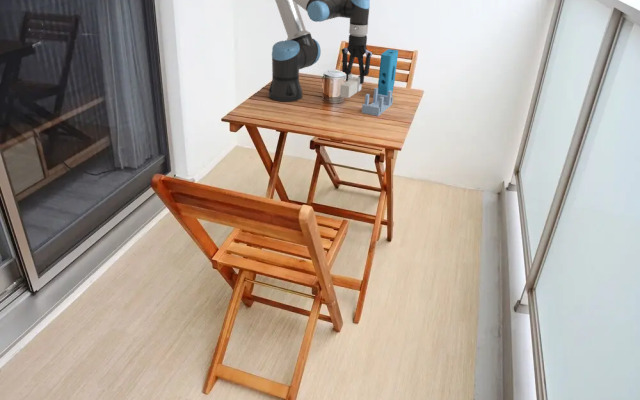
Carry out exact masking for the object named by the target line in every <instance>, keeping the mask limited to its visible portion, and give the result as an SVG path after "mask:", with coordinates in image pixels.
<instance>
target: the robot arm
mask: <svg viewBox="0 0 640 400" xmlns="http://www.w3.org/2000/svg"><path fill="white" fill-rule="evenodd" d="M370 1H371V0H275V3H276V6H277V9H278V12H279V14H280V18H281V21H282V24H283V26H284V29H285V33H286V35H287V38H286V40H280V41H277V42H275V43H274V44H273V46H272V52H271V60H272V61H271V62H272V63H271V64H272V66H271V68H272V69H271V71H272V72H271V73H272V74H271V75H272V79H271V83H270V86H269V89H268V98H269V99H271V100H274V101H277V102H285V103H286V102H288V103H289V102H296V101H299V100H301V99H302V98H303V90H302V86H301V83H300V82H301V81H300V79H299V78H300V77H299V75H300V70H302V69H305V68H309V67H312V66H313V65H314V64H316V63H317V62H318V61H319V59H320V57H321V54H322V53H321V52H322V51H321V46H320V43H319V41H317V40H316V39H315V38H313V36H312V34H311V32H310V31H308V30H306V27H305V24H304V21H303V18H302V15H301V12H300V8H299V7H301V8H302V9H304V10H305V11H306V12H307V16H308V17H309V19H310V20H311V21H312V22H316V23H317V22H325V21H328V20H331V19H335V18H346V19H349V29H348V30H349V31H348V33H349V35H348V45H347V46H346V47H344V48H342V49H341V53H342V62H341V63H342V66H341V68H342V69H341V71H342V72H343V73H345V82H346V81H348V80H350V79H351V78H353V73H352V69H353V65H354V60H355V58H356V59H357V61H358V62H357V63H358V71H359V75H358V77H357V78H358V86H357V91H358V92H360V91H362V86H361V84H362V85H363V84H364V82H365V77H366V76H368V75H369V72H370V64H371V58H372V55H373V52H372V51H369V50H368V48H367V44H368V43H367V42H368V41H367V40H368V36H367V35H368V28H369V15H370V7H371V6H370V5H371V4H370ZM348 53H349V59H348ZM364 55H365V64H364ZM358 92H357V93H358Z"/></svg>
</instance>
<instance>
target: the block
mask: <svg viewBox="0 0 640 400" xmlns="http://www.w3.org/2000/svg"><path fill="white" fill-rule="evenodd" d="M398 55H399V49H398V50H397V49H389V48H388V49H386V50H385V51H384V52H382V53H381V54H380V62H379V73H378V81H377V82H378V83H377V88H378V94H380V95H385V96H388V91H389V90H391V91H392V94H393V92H394V86H395V80H396V74H397V65H398V58H399V57H398Z"/></svg>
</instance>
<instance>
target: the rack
mask: <svg viewBox="0 0 640 400" xmlns="http://www.w3.org/2000/svg"><path fill="white" fill-rule="evenodd" d="M372 97H373V98H372V102H371V103H370V93H366V94H365V96H364V103H363V104H362V105H361V113H362V114H366V115H370V116H371V115H372V116H375V117H379V116H380V115H382V114H383V113H384V112H386V110H388V109H389V108H390V107H391V106H393V102H394V97H393V93H392V91H391V90H389V91H388V96H385V95H380V94H378V87H374V88H373V96H372ZM369 103H370V104H369Z"/></svg>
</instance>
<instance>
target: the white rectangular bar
mask: <svg viewBox="0 0 640 400" xmlns="http://www.w3.org/2000/svg"><path fill="white" fill-rule="evenodd" d="M362 85H363V84H361V87H362ZM357 86H358V77H356V76H354V77H353V76H352V78H351V79H350V80H348V81H346V80H345V81H344V82H342V83H341V84H340V86H339V87H340V91H339V97H341V98H345V99H346V98H347V99H349V98H351V97H352V96H354V95H355V94H357V93H358V91H357Z"/></svg>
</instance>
